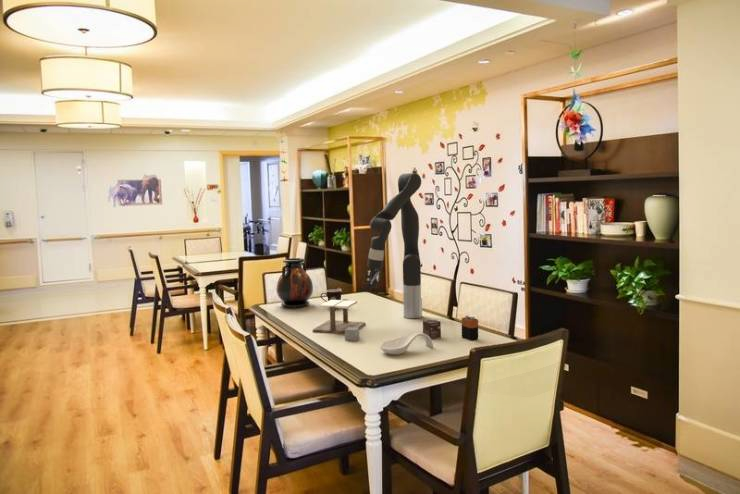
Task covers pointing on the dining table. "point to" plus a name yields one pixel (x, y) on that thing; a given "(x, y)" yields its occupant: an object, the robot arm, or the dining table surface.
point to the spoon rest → (403, 343)
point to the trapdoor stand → (337, 323)
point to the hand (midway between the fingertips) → (371, 289)
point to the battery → (470, 328)
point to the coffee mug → (333, 295)
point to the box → (432, 328)
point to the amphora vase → (294, 284)
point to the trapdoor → (339, 304)
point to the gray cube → (352, 333)
